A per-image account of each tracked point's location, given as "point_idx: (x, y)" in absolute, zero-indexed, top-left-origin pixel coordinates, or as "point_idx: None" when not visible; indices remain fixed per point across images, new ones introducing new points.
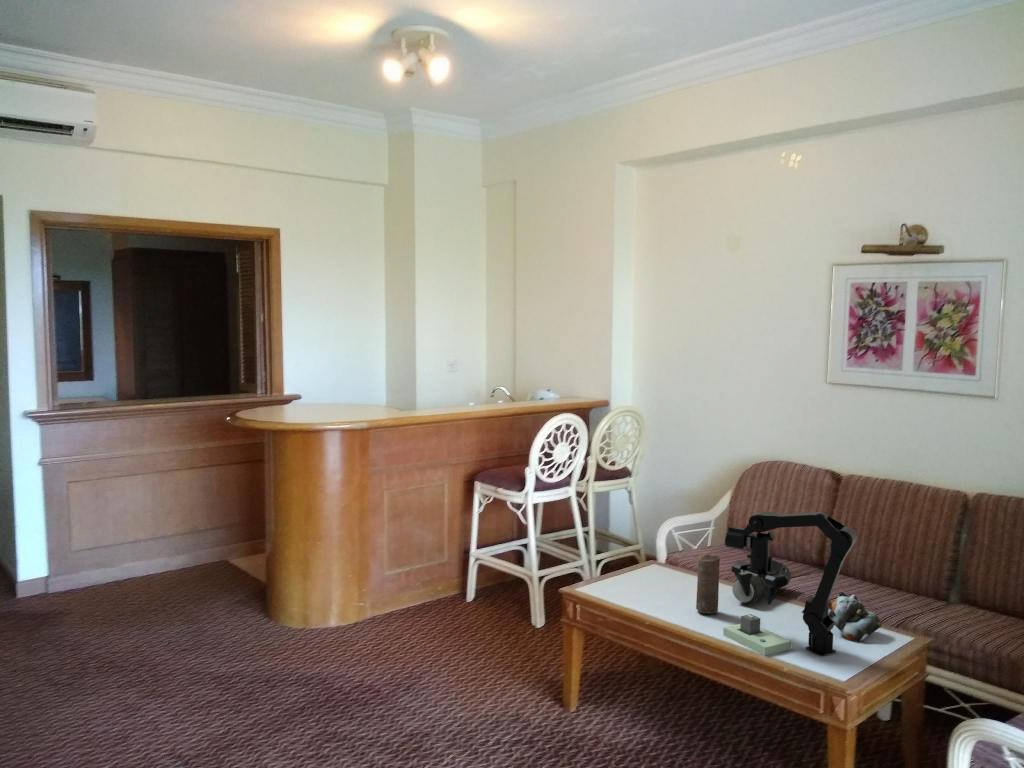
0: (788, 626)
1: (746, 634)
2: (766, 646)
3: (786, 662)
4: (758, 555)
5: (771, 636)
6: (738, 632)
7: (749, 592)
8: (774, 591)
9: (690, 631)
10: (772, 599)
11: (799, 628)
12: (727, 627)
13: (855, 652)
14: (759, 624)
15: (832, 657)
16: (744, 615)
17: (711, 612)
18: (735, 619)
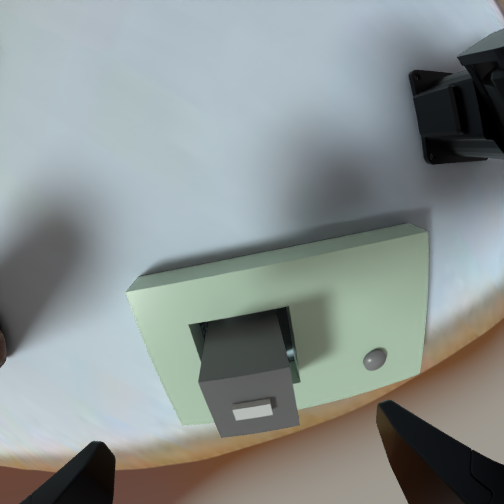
0: (148, 52)
1: None
2: (416, 365)
3: (467, 312)
4: None
5: (350, 295)
6: None
7: (89, 462)
8: (493, 487)
9: (144, 456)
10: (429, 430)
11: (189, 16)
12: (186, 415)
13: (467, 20)
14: (284, 348)
15: None
16: (216, 420)
17: (3, 342)
18: (28, 265)
